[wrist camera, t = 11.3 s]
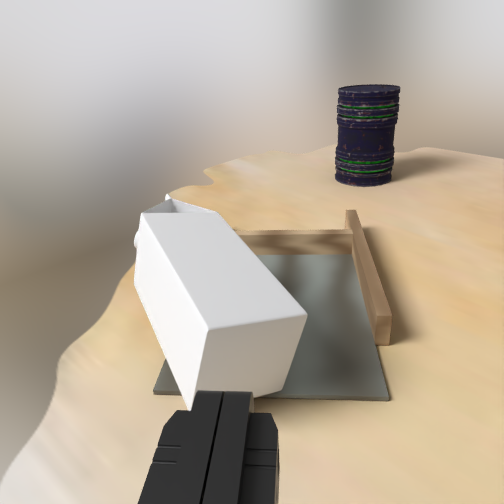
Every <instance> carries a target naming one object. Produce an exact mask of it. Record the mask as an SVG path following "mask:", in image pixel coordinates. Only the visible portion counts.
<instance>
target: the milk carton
mask: <svg viewBox="0 0 504 504" xmlns="http://www.w3.org/2000/svg"><path fill="white" fill-rule="evenodd" d="M134 245H135V247H136V248H137V257H136V266H135V277H134V285H135V288H136V290H137V293H138V295H139V297H140V299H141V302H142V304H143V306H144V309H145V311H146V313H147V316H148V318H149V320H150V323H151V325H152V327H153V330H154V332H155V334H156V336H157V339H158V341H159V343H160V346H161V348H162V350H163V353H164V355H165V357H166V360H167V362H168V364H169V366H170V369H171V371H172V373H173V376H174V378H175V380H176V383H177V385H178V387H179V390H180V392H181V394H182V397H183V399H184V401H185V403H186V406H187V408H188V410H189V411H191V408H192V405H193V401H194V397H195V394H196V392H197V391H198V390H207V391H247V392H253V398H255V397H259V396H262V395H266V394H270V393H274V392H277V391H281V390H282V388H283V386H284V383H285V380H286V377H287V374H288V371H289V369H290V366H291V363H292V360H293V357H294V354H295V351H296V348H297V345H298V343H299V340H300V337H301V334H302V331H303V328H304V325H305V322H306V319H307V313H306V311H305V310H304V309H303V308H302V307H301V306H300V305H299V303H298V302H297V301H296V300H295V299H294V298H293V297H292V296H291V294H290V293H289V292H288V291H287V290H286V289H285V288H284V287H283V285H282V284H281V283H280V282H279V281H278V280H277V279H276V278H275V276H274V275H273V274H272V273H271V272H270V271H269V270H268V269H267V267H266V266H265V265H264V264H263V263H262V262H261V261H260V260H259V258H258V257H257V256H256V255H255V254H254V253H253V252H252V250H251V249H250V248H249V247H248V246H247V245H246V244H245V243H244V241H243V240H242V239H241V238H240V237H239V236H238V235H237V234H236V232H235V231H234V230H233V229H232V228H231V227H230V226H229V225H228V223H227V222H226V221H225V220H224V219H223V218H222V217H221V216H220V214H219V213H218V212H215V211H212V210H209V209H205V208H202V207H199V206H195V205H192V204H188V203H185V202H182V201H178V200H175V199H172V198H171V197H170V196H169V194H166V198H165V201H164V202H162V203H160V204H158V205H156V206H154V207H152V208H150V209H148V210H146V211H144V212H142V213H141V217H140V226H139V230H138V231H137V233H136V235H135V239H134Z"/></svg>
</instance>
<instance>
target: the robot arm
mask: <svg viewBox="0 0 504 504" xmlns="http://www.w3.org/2000/svg"><path fill="white" fill-rule="evenodd" d="M279 471H280V465H279V443H278V429H277V427H276V424H275V422H274V420H273V417H272V415H271V413H255V411H254V398H253V392H247V391H207V390H198V391H197V392H196V394H195V397H194V401H193V405H192V408H191V411H187V410H177V411H176V412H175V413H174V414H173V415H172V417H171V418H170V419H169V420H168V422H167V423H166V424H165V425H164V427H163V430H162V433H161V436H160V439H159V442H158V447H157V448H156V451H155V454H154V457H153V462H152V464H151V466H150V469H149V472H148V475H147V478H146V481H145V484H144V487H143V490H142V493H141V496H140V499H139V502H138V504H278V496H279Z"/></svg>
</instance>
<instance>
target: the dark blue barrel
mask: <svg viewBox="0 0 504 504" xmlns="http://www.w3.org/2000/svg"><path fill="white" fill-rule="evenodd" d="M399 93H400V87H399V86H394V85H377V84H375V85H355V86H346V87H341V88H339V89H338V94H339V98H338V104H339V105H337V113H338V115H337V124H338V126H339V127H338V146H337V147H336V157H335V165H336V168H335V169H336V174H335V179H336V180H337V181H338V182H340V183H342V184H346V185H351V186H361V187H369V186H378V185H383V184H386V183H388V182H390V181H391V171H392V166H393V163H394V157H393V156H394V146H393V141H394V130H395V124H396V123H397V119H398V113H397V112H399V104H398V102H399Z"/></svg>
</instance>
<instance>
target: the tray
mask: <svg viewBox="0 0 504 504" xmlns="http://www.w3.org/2000/svg"><path fill="white" fill-rule="evenodd" d="M235 232H236V234H237V235H238V236H239V237H240V238H241V239H242V240H243V241H244V243H245V244H246V245H247V246H248V247H249V248H250V249H251V250H252V252H253V253H254V254H255V255H256V256H257V257H258V258H259V260H260V261H261V262H262V263H263V264H264V265H265V266H266V267H267V269H268V270H269V271H270V272H271V273H272V274H273V275H274V276H275V278H276V279H277V280H278V281H279V282H280V283H281V284H282V285H283V287H284V288H285V289H286V290H287V291H288V292H289V293H290V294H291V296H292V297H293V298H294V299H295V300H296V301H297V302H298V303H299V305H300V306H301V307H302V308H303V309H304V310H305V311H306V313H307V319H306V322H305V325H304V328H303V331H302V334H301V337H300V340H299V343H298V345H297V348H296V351H295V354H294V357H293V360H292V363H291V366H290V369H289V371H288V374H287V377H286V380H285V383H284V386H283V388H282V390H281V391H277V392H274V393H270V394H266V395H262V396H259V397H267V398H302V399H337V400H372V401H388V400H389V395H388V391H387V387H386V384H385V380H384V376H383V372H382V368H381V364H380V361H379V357H378V353H377V349H376V345H389V341H390V333H391V324H392V313H391V310H390V307H389V304H388V301H387V298H386V295H385V293H384V290H383V287H382V284H381V281H380V278H379V275H378V273H377V270H376V267H375V264H374V261H373V258H372V255H371V253H370V250H369V247H368V244H367V241H366V238H365V235H364V232H363V230H362V227H361V224H360V221H359V218H358V215H357V212H356V210H346V220H345V230H266V231H235ZM153 392H154V394H162V395H182V394H181V392H180V390H179V387H178V385H177V383H176V380H175V378H174V376H173V373H172V371H171V369H170V366H169V364H168V362H167V360H166V359H165V361H164V364H163V367H162V369H161V372H160V374H159V377H158V379H157V382H156V384H155V387H154V389H153Z"/></svg>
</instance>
